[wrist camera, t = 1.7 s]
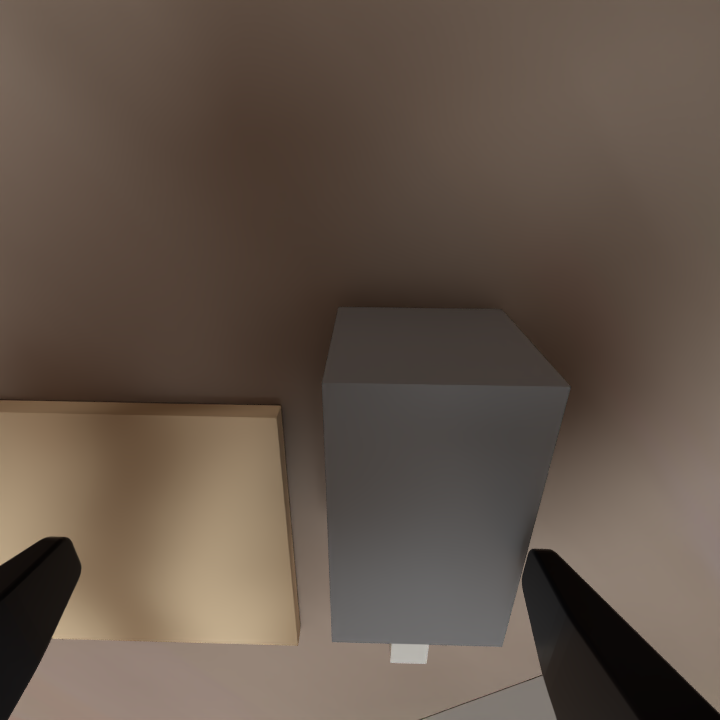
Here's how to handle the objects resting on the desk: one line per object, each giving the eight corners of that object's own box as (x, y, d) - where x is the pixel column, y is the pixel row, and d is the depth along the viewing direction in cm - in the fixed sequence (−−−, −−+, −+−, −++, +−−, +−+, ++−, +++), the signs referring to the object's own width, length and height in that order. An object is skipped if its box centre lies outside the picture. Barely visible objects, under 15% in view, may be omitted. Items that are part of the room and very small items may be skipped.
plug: (338, 305, 10) (499, 307, 10) (343, 560, 14) (458, 563, 14) (321, 382, 7) (570, 386, 7) (334, 694, 11) (488, 699, 11)
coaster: (280, 405, 11) (276, 418, 11) (300, 628, 16) (297, 645, 15) (-75, 398, 11) (-97, 410, 11) (41, 622, 16) (30, 637, 15)
